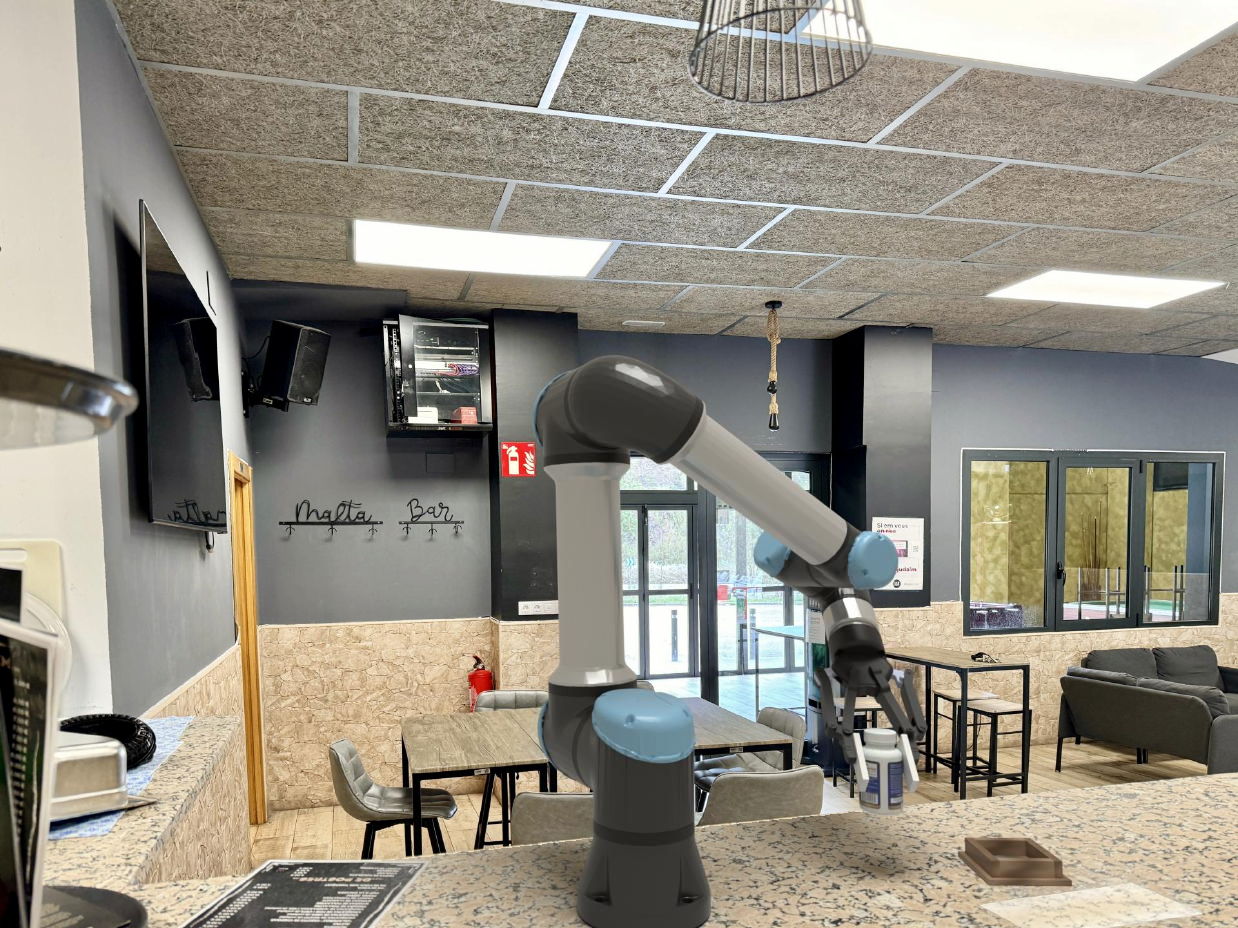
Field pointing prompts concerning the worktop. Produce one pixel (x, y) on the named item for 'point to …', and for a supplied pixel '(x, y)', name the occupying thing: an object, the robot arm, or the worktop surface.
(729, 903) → the worktop surface
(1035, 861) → the socket block
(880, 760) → the pill bottle
